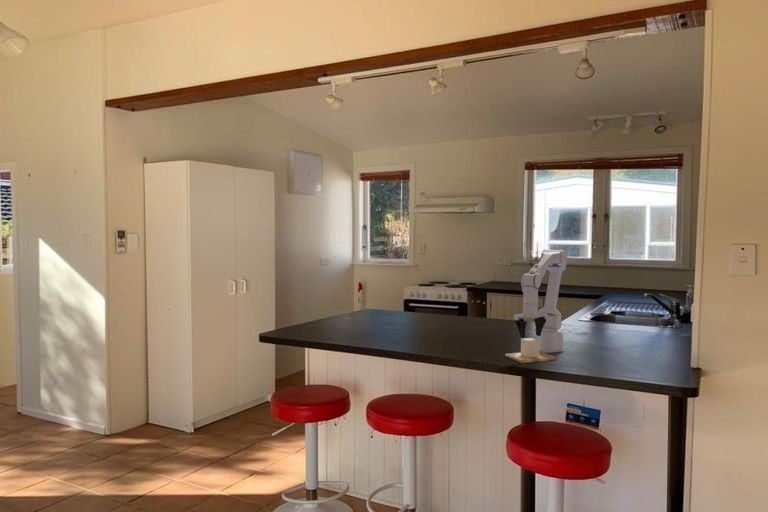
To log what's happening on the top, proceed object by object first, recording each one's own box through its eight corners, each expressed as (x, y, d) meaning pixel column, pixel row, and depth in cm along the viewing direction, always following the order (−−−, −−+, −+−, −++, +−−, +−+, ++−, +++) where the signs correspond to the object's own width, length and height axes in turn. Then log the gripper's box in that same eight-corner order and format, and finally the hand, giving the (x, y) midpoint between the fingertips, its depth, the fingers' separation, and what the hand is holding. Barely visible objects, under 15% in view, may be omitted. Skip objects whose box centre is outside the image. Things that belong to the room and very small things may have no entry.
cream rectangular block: (531, 353, 225) (531, 337, 225) (539, 356, 220) (539, 340, 220) (520, 354, 223) (520, 338, 223) (528, 357, 218) (528, 341, 218)
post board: (539, 353, 230) (539, 339, 229) (555, 359, 218) (556, 345, 218) (505, 356, 225) (505, 341, 225) (520, 362, 214) (520, 347, 213)
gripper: (539, 301, 227) (539, 333, 228) (509, 303, 222) (509, 336, 223) (550, 303, 220) (549, 336, 221) (519, 305, 215) (519, 339, 216)
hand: (530, 336), depth 221 cm, fingers open, 7 cm apart
